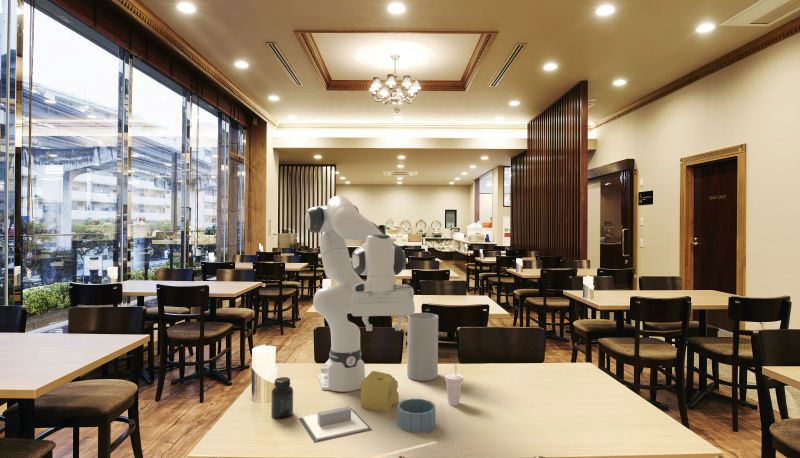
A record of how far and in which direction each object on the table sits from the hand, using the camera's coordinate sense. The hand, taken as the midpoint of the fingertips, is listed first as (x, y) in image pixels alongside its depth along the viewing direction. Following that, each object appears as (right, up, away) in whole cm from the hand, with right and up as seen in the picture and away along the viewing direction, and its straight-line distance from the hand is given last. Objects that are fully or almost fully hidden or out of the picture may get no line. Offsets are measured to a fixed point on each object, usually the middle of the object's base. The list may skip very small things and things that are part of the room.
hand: (383, 330), depth 139 cm
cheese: (-2, -30, +17) cm, 35 cm away
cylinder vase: (+14, -30, +47) cm, 57 cm away
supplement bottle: (-33, -30, +8) cm, 45 cm away
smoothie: (+24, -30, +19) cm, 43 cm away
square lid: (-15, -29, +1) cm, 33 cm away
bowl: (+10, -30, +2) cm, 32 cm away
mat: (-15, -30, +1) cm, 34 cm away
